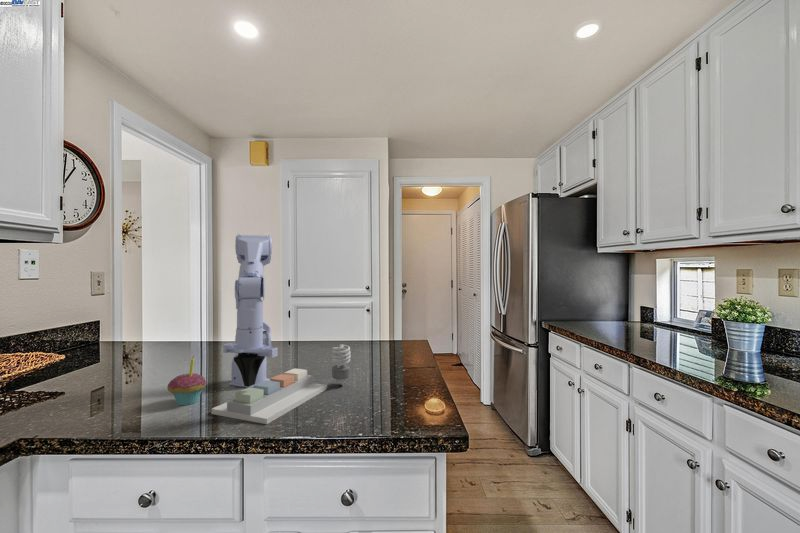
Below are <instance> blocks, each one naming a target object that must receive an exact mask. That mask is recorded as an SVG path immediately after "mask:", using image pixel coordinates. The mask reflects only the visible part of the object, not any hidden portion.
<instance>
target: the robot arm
mask: <svg viewBox="0 0 800 533" xmlns="http://www.w3.org/2000/svg"><path fill="white" fill-rule="evenodd" d="M272 243H273V238H272V236H271V235H270V234H269V235H258V234H257V235H256V234H254V235H253V234H240V233H239V234H236V236H235V246H234V247H235V254H236V260H237V263H239V264H240V265H239V271H238V279H235V281H234V298H235V310H236V329H235V339H234V341H235V342H234V343H229V342H228V343H226V344H225V343H224V344H223V345H222V353H224V354H227V353H230V354H234V356H233V357H232V361H231V380H230V381H231V382H229V384H228V385H229V386H236V387H240V388H241V387H242V388H249V387H250V388H254V385H256V384H258V383H260V382H263V381H265V380H268V381H270V378H267V357H268V358H269V359H273V358H276V357H278V353H279V352H278V350H279V349H278V347H273V346H272V330H271V329H272V328H271V325H270V323H268V322H266V321H264V301H265V298H266V280H265V275H264V272H265V271H264V270H265V266H266V265H269V264H271V261H272V248H273V246H272Z"/></svg>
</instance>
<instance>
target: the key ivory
mask: <svg viewBox="0 0 800 533" xmlns="http://www.w3.org/2000/svg"><path fill="white" fill-rule="evenodd" d="M284 374H285V375H293V376H294V381H300V380H302V379H304V378H306V377H307V375H308V369H302V368H291V369H290V370H288V371H285V372H284Z"/></svg>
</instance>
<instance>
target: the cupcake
mask: <svg viewBox="0 0 800 533" xmlns="http://www.w3.org/2000/svg"><path fill="white" fill-rule="evenodd" d="M194 363H195V356H194V355H193V356H192V358H191V359H190V367H189V373H185V374H179V375H178V376H175V377H174V378H172V379H171V380H170V381H169V382H168V384H167V388H166V389H167V390H168V391H167V392H169V393H171V394H172V395H173V396H174V399H175V402H176V404H177V406H188V404H190V405H193V404H196V403H197V402H199V399H200V397H201V393H202V392H203V390H204V387H205V386H206V385H207V380H206V378H205V377H204V376H203V375H201V374H198V373H193V372H194ZM195 402H196V403H195ZM192 403H193V404H192Z"/></svg>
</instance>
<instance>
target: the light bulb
mask: <svg viewBox="0 0 800 533" xmlns="http://www.w3.org/2000/svg"><path fill="white" fill-rule="evenodd" d="M338 346H339V347H338ZM338 346H337V347H335V346H334V347H332V348H331V350H332V351H331V354H332V355H331V361H332V363H338V364H336V365H332V367H331V376H332V378H333V379H335V380H336V383H337V384H338V385H339V386H343V385H344V384H345V383H346V380H347V379H348V378H350V376H351V366H349V365H348V364H349V363H350V362H351V358H352V355H351V354H352V352H351V347H350V345H346V344H342V343H339V345H338Z"/></svg>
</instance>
